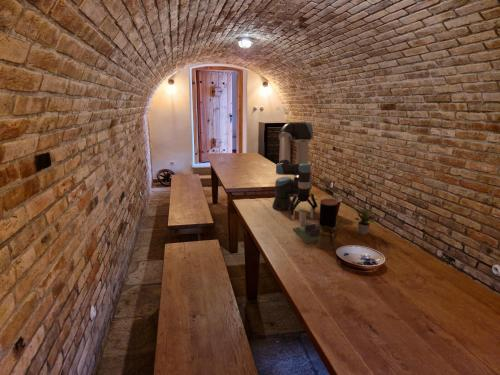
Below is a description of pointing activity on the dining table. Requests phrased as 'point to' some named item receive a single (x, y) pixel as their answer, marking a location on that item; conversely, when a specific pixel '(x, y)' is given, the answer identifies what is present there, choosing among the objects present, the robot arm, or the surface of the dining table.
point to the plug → (302, 217)
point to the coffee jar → (328, 212)
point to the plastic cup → (337, 203)
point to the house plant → (364, 221)
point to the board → (309, 232)
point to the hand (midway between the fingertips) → (302, 218)
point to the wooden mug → (327, 237)
